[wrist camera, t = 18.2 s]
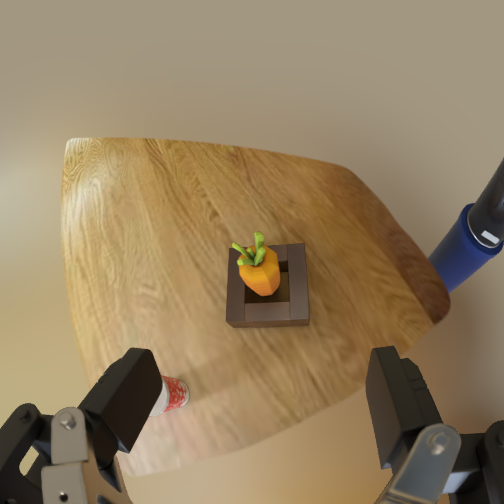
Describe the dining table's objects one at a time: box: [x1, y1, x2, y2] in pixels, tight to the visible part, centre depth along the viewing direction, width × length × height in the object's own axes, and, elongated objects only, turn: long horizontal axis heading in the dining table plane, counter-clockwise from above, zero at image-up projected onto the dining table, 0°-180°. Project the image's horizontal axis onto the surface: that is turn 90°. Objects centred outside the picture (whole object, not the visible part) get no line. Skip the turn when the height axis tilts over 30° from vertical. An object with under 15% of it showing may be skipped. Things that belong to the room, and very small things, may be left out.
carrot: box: [232, 232, 280, 296], centre depth 35 cm, size 5×5×15 cm
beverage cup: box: [149, 375, 190, 417], centre depth 30 cm, size 6×6×14 cm
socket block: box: [226, 243, 310, 328], centre depth 40 cm, size 11×11×4 cm
